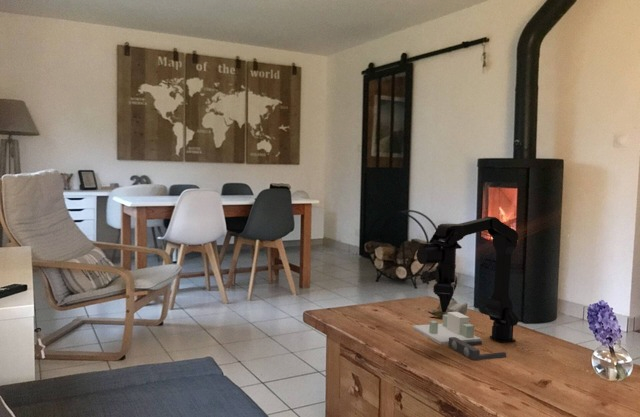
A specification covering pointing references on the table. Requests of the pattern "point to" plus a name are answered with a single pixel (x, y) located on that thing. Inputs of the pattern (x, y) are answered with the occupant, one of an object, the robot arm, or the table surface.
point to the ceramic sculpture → (450, 309)
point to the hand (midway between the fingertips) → (445, 308)
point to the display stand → (449, 329)
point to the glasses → (471, 349)
